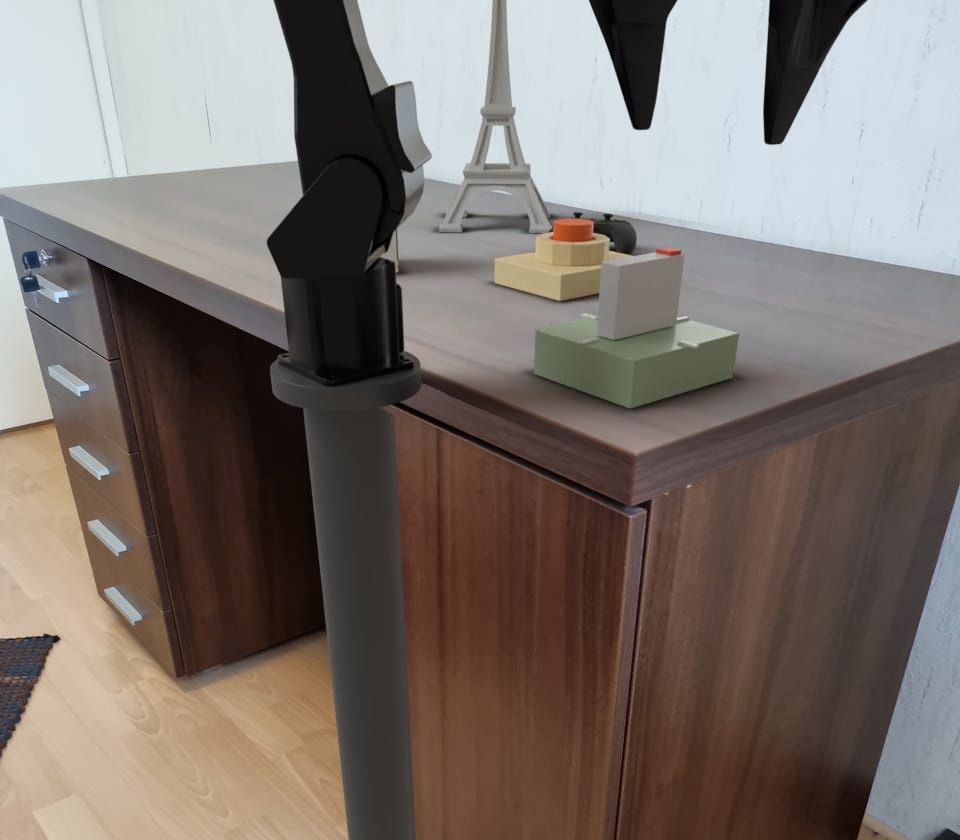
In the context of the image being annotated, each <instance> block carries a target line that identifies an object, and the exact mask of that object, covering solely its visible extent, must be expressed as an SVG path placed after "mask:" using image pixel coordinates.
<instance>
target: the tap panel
mask: <svg viewBox="0 0 960 840" xmlns="http://www.w3.org/2000/svg"><path fill="white" fill-rule="evenodd" d="M580 316H581V317H583V318H582V319H578V320H573V321H568V322H563V323H559V324H554V325H550V326H546V327H545V326H544V327H541V328H537V329H535V330H534V331H535V335H534V358H533V359H534V360H533V374H534V375H536V376H539V377H542V378H544V379H547V380H548V381H549V380H550V381H552V382H555V383H558V384H561V385H563V386H566V387H568V388H572V389H575V390H577V391H579V392H583V393H584V394H585V393H586V394H588V395H590V396H594V397H597V398H599V399H602V400H605V401H608V402H610V403H613V404H616V405H619V406H622V407H624V408H627V409H629V410H630V409H635V408H638V407H640V406H644V405H647V404H648V405H649V404H651V403H655V402H657V401H661V400H665V399H667V398H671V397H674V396H677V395H681V394H684V393H688V392H690V391H694V390H697V389H700V388H704V387H707V386H710V385H713V384H717V383H721V382H724V381H727V380H730V379H733V377H734V370H735V364H736V358H737V351H738V345H739V338H740V333H739V332H736V331H732V330H729V329H725V328H721V327H718V326H714V325H709V324H706V323H702V322H699V321H694V320H692V319H691V317H690V316H687V315H684V316H681V317H679V316H677V323H676V325H675V326H671V327H667V328H663V329H659V330H654V331H650V332H646V333H642V334H638V335H634V336H630V337H626V338H621V339H617V340H611V339H608V338H604V337H601V336H598V335H597V321H598V315H595V314H590V313H586V312H584V313H581V314H580Z"/></svg>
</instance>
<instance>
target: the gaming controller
mask: <svg viewBox="0 0 960 840" xmlns="http://www.w3.org/2000/svg"><path fill="white" fill-rule="evenodd" d="M572 215H573V216H574V217H569V219H586V220H590V221H593V223H594V225H593V233H596V234H601V235H605V236H606V237H608V238H609V239H610V243H613V244H614V247H615V250H616V252H617V253H622V254H626V255H631V256H632V254H633V253H634V251H635V249H636V247H637V240H638V238H637V237H638V236H637V230H636V229H635V228H634V226H633V225H632V224H631V223H630V222H629V221H626V220H625V219H620V220H619V219H611V218H613V217H614V215H613V213H603V214H602V217H603V218H604V219H603V218H601V219H596V218H583V217H581V216H583V215H584V213H583V212H581V211H574V212H573V213H572ZM551 232H553V227H552V228H551V229H550V230H549V232H548V233H551Z"/></svg>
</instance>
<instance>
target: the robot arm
mask: <svg viewBox="0 0 960 840" xmlns="http://www.w3.org/2000/svg"><path fill="white" fill-rule="evenodd" d="M678 1H679V0H588V3H589V5H590V7H591V10H592V12H593V15H594V17H595V20H596V23H597V25H598V27H599V30H600V33H601V35H602V38H603V40H604V43H605V45H606V48H607V51H608V54H609V58H610V60H611V63H612V66H613V69H614V73H615V75H616V79H617V82H618V85H619V88H620V91H621V95H622V99H623V101H624V105H625V108H626V111H627V114H628V117H629V120H630V124H631V127H632V129H634V131H648V130H650V128H651V126H652V123H653V117H654V114H655V110H656V104H657V98H658V91H659V85H660V76H661V69H662V62H663V61H662V60H663V52H664V45H665V37H666V30H667V22H668V18H669V15H670V14H671V12H672V11H673V9H674V7H675V6H676V4H677V2H678ZM867 2H868V0H769V1H768V18H767V37H766V38H767V39H766V55H765V68H764V69H765V71H764V85H763V86H764V88H763V105H762V119H763V142H764V144H765V145H769V146H777V145H781V144H783V143H784V142H785V139H786V137H787V136H788V133H789V132H790V130H791V127H792V126H793V123H794V122H795V120H796V117H797V115H798V114H799V112H800V110H801V108H802V106H803V104H804V102H805V99H806V98H807V95H808V94H809V93H810V92H809V91H810V90H811V88H812V86H813V84H814V82H815V80H816V78H817V76H818V74H819V71H820V69H821V68H822V66H823V64H824V62H825V60H826V58H827V56H828V54H829V53H830V51H831V49H832V47H833V46H834V44H835V42H836V41H837V39H838V38H839V36H840V34H841V33H842V31H843V29H844V28H845V26H846V24H847V23H848V21H849V20H850V19H851V17H852V16H853V15H855V14H856V13H857V12H858V10H860V9H861V7H863V5H864V4H866V3H867ZM273 4H274V7H275V10H276V14H277V17H278V21H279V24H280V28H281V32H282V34H283V38H284V41H285V45H286V49H287V52H288V55H289V59H290V63H291V67H292V75H293V134H294V135H293V137H294V145H295V151H296V157H297V163H298V170H299V177H300V178H299V179H300V185H301V191H302V196H301V197H300V199H299V200H298V201H297V202H296V204H295V205H294V206H293V207H292V208H291V210H290V211H289V212H288V213H287V214H286V216H285V217H284V218H283V219H282V220H281V222H280V223H279V224H278V225H277V226H276V228H275V229H274V230H273V231H272V232H271V233H270V235H269V236H268V237H267V238H266V246H267V248H268V251H269V253H270V256H271V258H272V260H273V262H274V265H275V267H276V268H277V271H278V273H279V275H280V282H281V284H280V285H281V292H282V302H283V310H284V318H285V319H284V320H285V329H286V337H287V339H286V340H287V347H288V353H281V354H278V355H277V356H276V357H277V359H278V364H280V365H282V366H284V367H286V368H288V369H290V370H292V371H294V372H297V373H299V374H301V375H303V376H305V377H307V378H309V379H311V380H313V381H315V382H317V383H319V384H321V385H324V386H328V387H332V386H338V385H342V384H346V383H351V382H355V381H360V380H364V379H368V378H373V377H377V376H382V375H386V374H390V373H395V372H399V371H404V370H408V369H412V368H414V360H413V359H411V358H408V357H406V356H403V355H401V354H399V353H402V352H403V351H405V328H404V327H405V325H404V306H403V305H404V304H403V303H404V302H403V301H404V300H403V288H402V286H401V285H400V284H399V283H397V273H396V265H395V261H392V260H388V259H384V258H381V257H380V256H381V255H382V254H383V253H386V252H387V251H388V250H389V248H390V244H391V241H392V238H393V234H394V231H395V230H396V229H397V230H398V228H399V227H400V226H401V225H403V224H404V222H406V221H407V220H408V219H409V218H410V217H411V216H412V215H413V214H414V213H415V210H416V208H417V207H418V205H419V203H420V202H421V199H422V196H423V194H424V187H425V172H424V170H425V169H424V166H423V165H425V164H426V163H427V162H429V161H430V160H431V159H432V157H433V154H432V152H431V150H430V149H429V148H428V146H427V145H426V143H425V142H424V139H423V136H422V133H421V131H420V127H419V121H418V110H417V109H418V108H417V99H416V91H415V85H414V82H413V81H411V80H408V81H407V80H406V81H404V82H399V83H394V84H389V83H388V82H387V80H386V79H385V76H384V74H383V72H382V70H381V69H380V66H379V65H378V63H377V61H376V59H375V57H374V55H373V52H372V50H371V48H370V45H369V41H368V38H367V37H368V36H367V34H366V30H365V26H364V21H363V18H362V14H361V9H360V6H359V2H358V0H273Z"/></svg>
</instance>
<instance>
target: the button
mask: <svg viewBox="0 0 960 840" xmlns="http://www.w3.org/2000/svg"><path fill="white" fill-rule="evenodd" d="M586 219H587V218H584V219H570V218H560V219H555V220H553V225H552V228H553V240H557V241H564V242H586V241H592V240H593V225H594V223H593V221H590V220H586Z"/></svg>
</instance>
